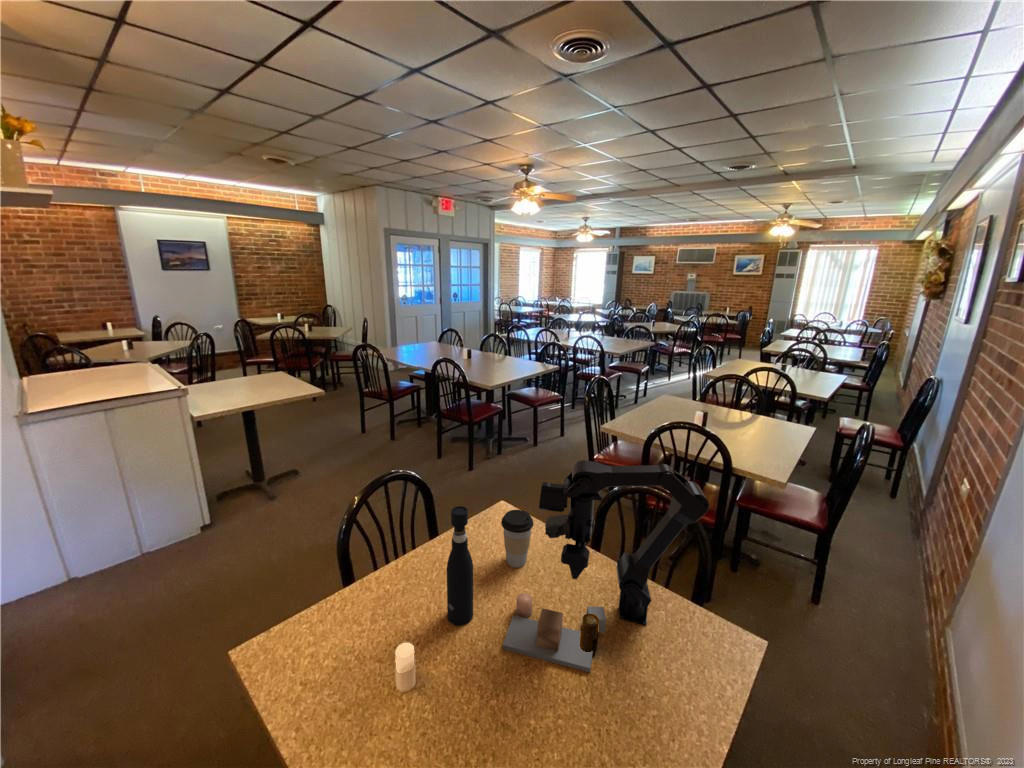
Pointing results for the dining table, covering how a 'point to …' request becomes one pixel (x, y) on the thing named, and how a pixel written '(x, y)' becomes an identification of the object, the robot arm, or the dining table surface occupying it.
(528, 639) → the slate board
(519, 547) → the coffee cup
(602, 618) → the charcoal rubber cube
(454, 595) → the black water bottle
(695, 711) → the dining table surface
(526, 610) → the terracotta cylinder
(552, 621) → the walnut block
